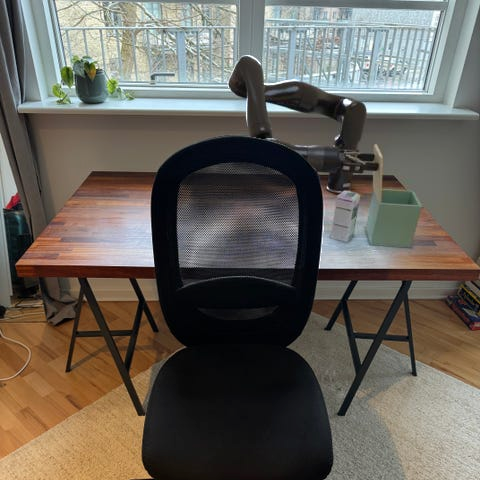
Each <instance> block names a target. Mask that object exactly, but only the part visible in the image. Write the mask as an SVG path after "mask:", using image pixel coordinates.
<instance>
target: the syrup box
mask: <svg viewBox="0 0 480 480" xmlns="http://www.w3.org/2000/svg"><path fill="white" fill-rule="evenodd" d="M360 201H361V193H360V192H359V193H358V192H356V191H352V190H350V191H345V190H344V191H343V192H342V193H340V194H338V195H336V200H335V207H334V214H333V221H332V228H331V234H330V238H331V239H333V240H337V241H340V242H344V243H348V242H349V240H351V239H352V238H353V237H354V235H355V234H354V233H355V229H356V223H357V218H358V212H359V206H360Z"/></svg>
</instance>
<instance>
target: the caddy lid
mask: <svg viewBox="0 0 480 480" xmlns="http://www.w3.org/2000/svg"><path fill="white" fill-rule="evenodd" d="M373 154H374V155H375V158H374V161H373V163H378V164H379V167H378V170H377V171H372V173H373V174H372V188H373V190H374V191H375V194H376V197H377V199H378V202H381V196H382V189H383V170H384V169H383V168H384V167H383V164H384V156H383V154H382V152H381V150H380V148H379V146H378V144H377V143H375V144H373Z"/></svg>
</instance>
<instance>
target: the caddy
mask: <svg viewBox="0 0 480 480" xmlns="http://www.w3.org/2000/svg"><path fill="white" fill-rule="evenodd" d="M422 210H423V205H422V203H421V201H420V200H419V198H418V196H417V194H416V193H415V191H414V190H407V189H393V188H392V189H391V188H382V196H381V202H378V199H377V197H376V194H375V191H374V189H373V191H372V195H371V201H370V205H369V208H368V213H367V214H368V215H367V219H366V224H365V231H366V233H367V238H368V241H369V244H370V246H380V247H394V248H395V247H396V248H410V249H411V248H412V245H413V241H414V238H415V234H416V230H417V227H418V223H419V220H420V216H421V213H422Z"/></svg>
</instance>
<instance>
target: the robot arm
mask: <svg viewBox="0 0 480 480" xmlns="http://www.w3.org/2000/svg"><path fill="white" fill-rule="evenodd" d="M227 87H228V89H229V90H230V92H231V93H232V94H234V95H235V96H237V97H239V98H242V99H246V112H245V113H246V114H245V117H246V118H245V119H246V126H247V130H248V134H249V137H250V136H251V137H256V138H261V139H266V140H270V141H274V142H277V143H280V144H283V145H285V146H287V147H289V148H291V149H293V150H295V151H296V152H298V153H299V154H301V155H302V156H303V157H304V158H305V159H306V160H307V161H308V162H309V163H310V164H311V165H312V166H313V167H314V168H315V169H316V171H317V172H316V173H324V174H325V173H326V174H328V177H327V184H326V190H327V191H328V192H330V193H333V194H338V195H339V194H340V193H342V192H343V191H344V190H345V191H352V190H351V189H352V183H353V178H354V177H353V176H354V174H359V175H360V174H361V175H362V174H364V172H365V171H367V172H373V171H377V170H378V167H379V164H378V163H374V158H375V155H374V153H371V152H369V153H368V152H367V153H366V152H362V151H360V150H359V144H360V142H361V140H362V138H363V134H364V130H365V126H366V120H367V115H368V111H367V106H366V104H365V103H364V102H363V101H360V100H358V99H356V98H354V97H350V96H343V95H338V94H334V93H333V94H332V93H329V92H327V91H325V90H324V89H322V88H320V87H318V86H316V85H313V84H311V83H308V82H305V81H302V80H299V79H288V80H283V81H279V82H275V83H265V76H264V69H263V66H262V64H261V62H260V61H259V60H258V59H257V58H255V57H254V56H252V55H248V54H247V55H242V56H240V58H239V59H238V60H237V62H236V63H235V65H234V68H233V69H232V71H231V74H230V76H229V79H228V81H227ZM267 104H271V105H275V106H279V107H283V108H286V109H289V110H292V111H294V112H298V113H301V114H308V115H321V116H323V117H324V116H325V117H327V118H329V119H331V120H333V121H335V122H337V123H339V124H340V125H341V128H340V133H339V134H337V135H335V136H334V139H333V144H332V145H319V144H318V145H301V144H300V145H299V144H295V145H294V144H291V143H290V142H286V141H283V140H279V139H276V138H273V128H272V124H271V120H270V118H269V113H268V108H267Z"/></svg>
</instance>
